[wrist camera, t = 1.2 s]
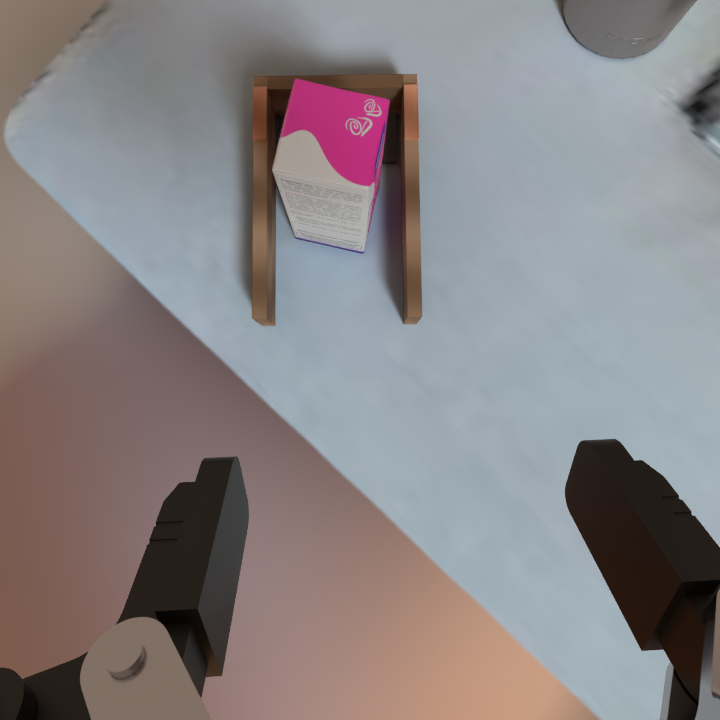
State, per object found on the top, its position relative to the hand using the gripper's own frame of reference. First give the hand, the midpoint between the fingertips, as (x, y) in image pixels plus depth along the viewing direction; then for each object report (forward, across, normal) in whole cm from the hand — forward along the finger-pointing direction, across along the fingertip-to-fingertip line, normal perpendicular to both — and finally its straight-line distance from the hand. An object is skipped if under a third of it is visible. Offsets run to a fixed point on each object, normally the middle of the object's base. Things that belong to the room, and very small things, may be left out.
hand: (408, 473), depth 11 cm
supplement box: (+30, +1, +2) cm, 31 cm away
